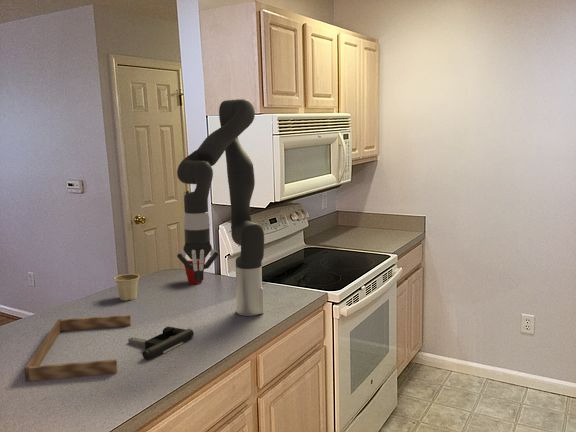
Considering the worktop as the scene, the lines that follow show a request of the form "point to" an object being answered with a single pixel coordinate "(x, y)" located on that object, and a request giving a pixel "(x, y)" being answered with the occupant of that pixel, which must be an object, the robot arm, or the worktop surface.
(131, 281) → the flower pot
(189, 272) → the plastic cup
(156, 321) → the worktop surface
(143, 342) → the door handle
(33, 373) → the box
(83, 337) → the worktop surface
